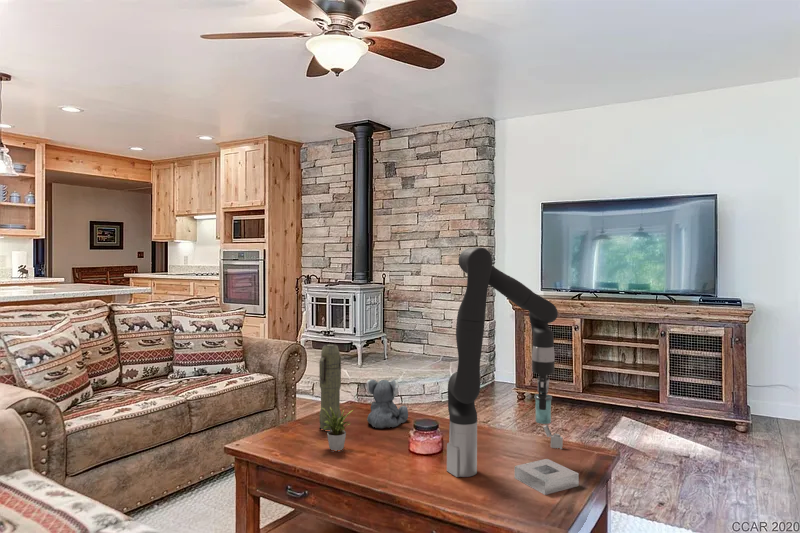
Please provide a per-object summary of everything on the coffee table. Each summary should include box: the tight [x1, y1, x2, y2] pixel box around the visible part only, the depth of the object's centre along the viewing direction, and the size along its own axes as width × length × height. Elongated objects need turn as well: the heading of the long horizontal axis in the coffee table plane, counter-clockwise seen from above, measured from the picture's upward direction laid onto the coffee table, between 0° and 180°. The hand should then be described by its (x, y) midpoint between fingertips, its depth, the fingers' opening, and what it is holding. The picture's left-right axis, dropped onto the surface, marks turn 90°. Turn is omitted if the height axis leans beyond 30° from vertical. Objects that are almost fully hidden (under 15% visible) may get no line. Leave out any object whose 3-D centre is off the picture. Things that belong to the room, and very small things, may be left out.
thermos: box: [318, 343, 342, 430], centre depth 225 cm, size 9×12×35 cm
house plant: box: [319, 407, 354, 451], centre depth 200 cm, size 14×14×16 cm
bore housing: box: [514, 458, 580, 496], centre depth 172 cm, size 14×14×4 cm
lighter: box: [542, 424, 564, 450], centre depth 204 cm, size 7×2×8 cm, turn 59°
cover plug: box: [533, 393, 553, 425], centre depth 187 cm, size 6×6×9 cm
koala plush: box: [365, 379, 409, 429], centre depth 231 cm, size 17×18×20 cm
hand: (543, 406), depth 187 cm, fingers closed on cover plug, 6 cm apart
